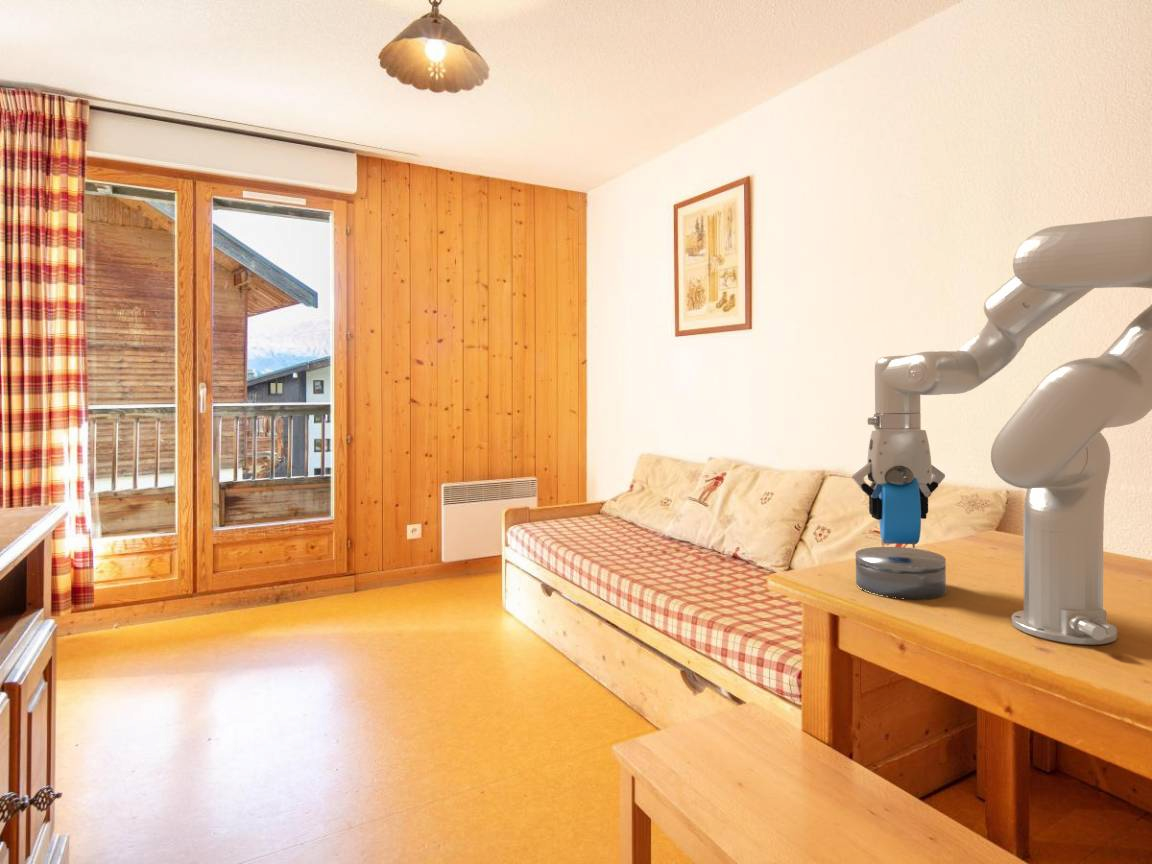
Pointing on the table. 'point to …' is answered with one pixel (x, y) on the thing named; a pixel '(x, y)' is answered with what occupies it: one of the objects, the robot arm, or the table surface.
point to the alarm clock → (900, 507)
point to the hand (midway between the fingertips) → (898, 517)
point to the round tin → (901, 572)
